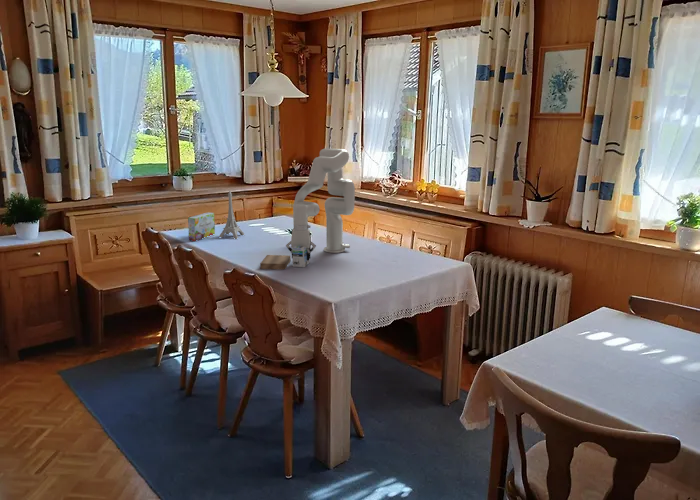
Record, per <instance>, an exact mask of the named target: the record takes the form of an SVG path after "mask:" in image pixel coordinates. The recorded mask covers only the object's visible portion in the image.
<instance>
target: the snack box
mask: <svg viewBox="0 0 700 500" xmlns="http://www.w3.org/2000/svg"><path fill="white" fill-rule="evenodd" d="M187 222H188V224H187V225H188V241H189V240H192V241H191V242H197V241H196V240H198V241H200V240H199V239H201V240H203V239H202V238H204V237H207V236H210V235H213V234H215V235H216V229H215V228H216V227H215V212H208V211H207V212H204V213H201V214H197V215H192V216H190V217H189V216H188V218H187ZM213 236H214V235H213ZM210 237H211V236H210ZM207 238H208V237H207ZM204 239H205V238H204Z"/></svg>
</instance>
